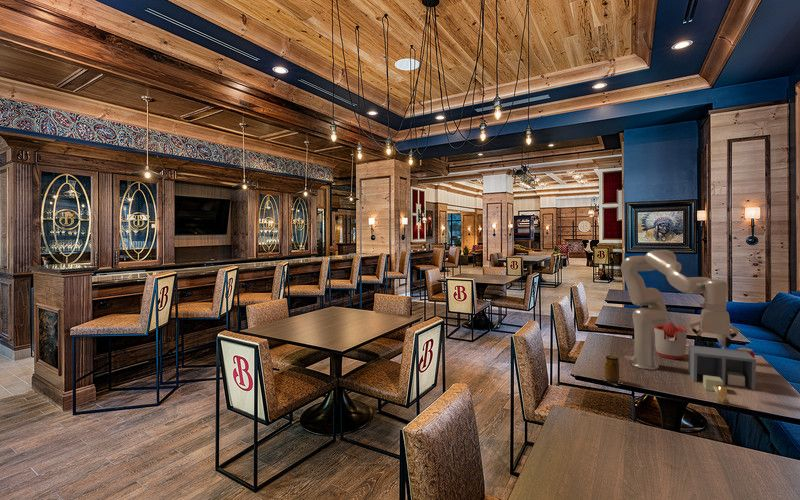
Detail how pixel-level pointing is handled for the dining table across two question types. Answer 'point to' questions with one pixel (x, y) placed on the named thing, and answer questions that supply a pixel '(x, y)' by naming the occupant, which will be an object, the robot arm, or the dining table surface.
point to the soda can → (747, 351)
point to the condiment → (612, 369)
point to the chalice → (722, 339)
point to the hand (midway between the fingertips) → (713, 345)
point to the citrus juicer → (670, 341)
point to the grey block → (735, 378)
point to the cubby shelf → (721, 363)
